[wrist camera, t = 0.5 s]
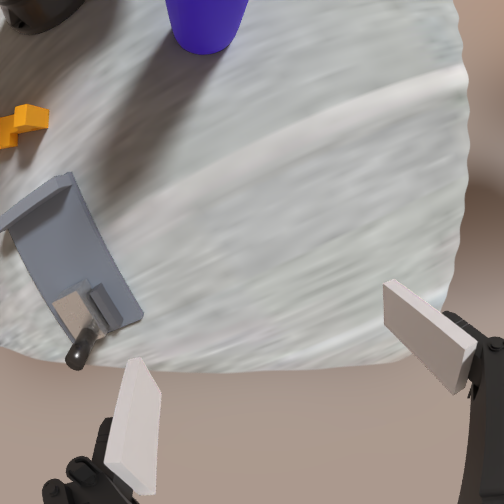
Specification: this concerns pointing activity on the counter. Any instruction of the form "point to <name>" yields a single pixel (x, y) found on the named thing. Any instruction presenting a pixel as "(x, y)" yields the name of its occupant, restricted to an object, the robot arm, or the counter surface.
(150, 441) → the robot arm
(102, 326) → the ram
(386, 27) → the counter surface
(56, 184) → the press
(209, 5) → the bottle
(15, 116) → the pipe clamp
